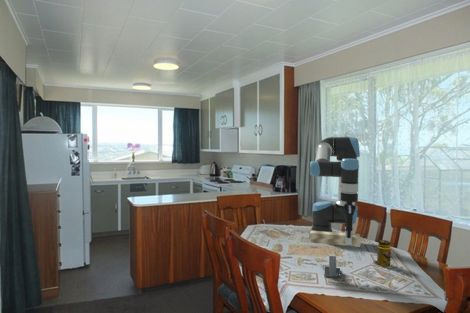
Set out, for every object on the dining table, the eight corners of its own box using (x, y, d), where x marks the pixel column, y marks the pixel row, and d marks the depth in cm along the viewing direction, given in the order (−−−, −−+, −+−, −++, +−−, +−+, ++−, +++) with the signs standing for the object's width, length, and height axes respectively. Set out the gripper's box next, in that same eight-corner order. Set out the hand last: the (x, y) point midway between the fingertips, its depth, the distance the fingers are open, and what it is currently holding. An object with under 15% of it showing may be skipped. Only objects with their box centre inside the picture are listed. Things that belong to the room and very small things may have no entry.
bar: (310, 242, 150) (310, 232, 150) (310, 239, 155) (310, 230, 155) (360, 246, 144) (360, 236, 144) (359, 243, 149) (359, 234, 149)
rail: (324, 268, 156) (325, 255, 156) (339, 270, 154) (340, 256, 154) (324, 276, 146) (324, 262, 146) (340, 278, 144) (341, 264, 144)
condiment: (390, 268, 156) (391, 244, 156) (371, 265, 161) (372, 241, 160) (391, 263, 163) (392, 240, 162) (373, 260, 167) (374, 237, 166)
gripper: (339, 189, 156) (338, 236, 157) (341, 194, 140) (340, 248, 141) (356, 190, 154) (355, 238, 155) (360, 195, 138) (358, 249, 138)
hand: (348, 242), depth 148 cm, fingers closed on bar, 4 cm apart
